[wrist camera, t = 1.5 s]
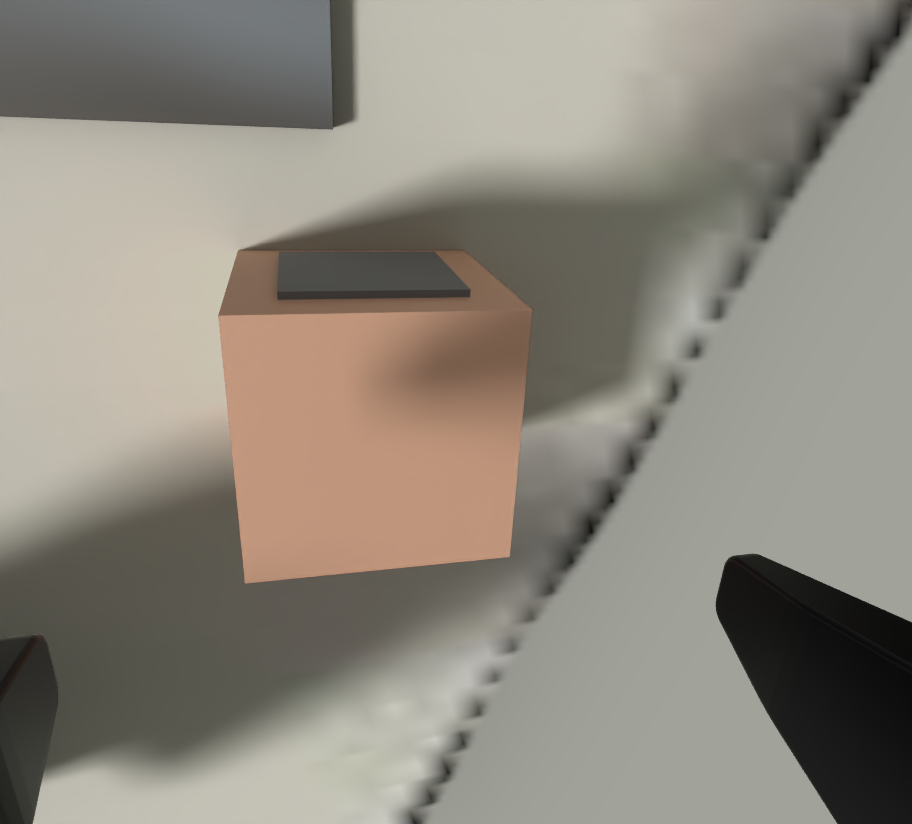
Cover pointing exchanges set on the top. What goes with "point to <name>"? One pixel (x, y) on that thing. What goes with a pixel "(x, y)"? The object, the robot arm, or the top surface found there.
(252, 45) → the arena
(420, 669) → the top surface
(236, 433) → the terracotta cube
